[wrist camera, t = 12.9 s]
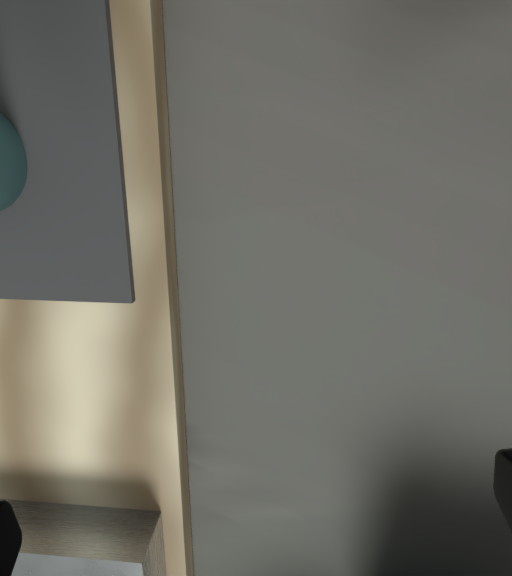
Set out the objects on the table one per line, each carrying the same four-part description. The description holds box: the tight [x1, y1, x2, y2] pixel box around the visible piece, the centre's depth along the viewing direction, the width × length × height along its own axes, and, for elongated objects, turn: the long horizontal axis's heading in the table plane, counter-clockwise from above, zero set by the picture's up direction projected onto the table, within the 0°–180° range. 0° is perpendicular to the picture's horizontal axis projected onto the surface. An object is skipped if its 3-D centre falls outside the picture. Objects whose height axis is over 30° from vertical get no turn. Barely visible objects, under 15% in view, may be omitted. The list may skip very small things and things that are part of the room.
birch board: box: [0, 0, 194, 576], centre depth 22 cm, size 15×35×2 cm, turn 0°
